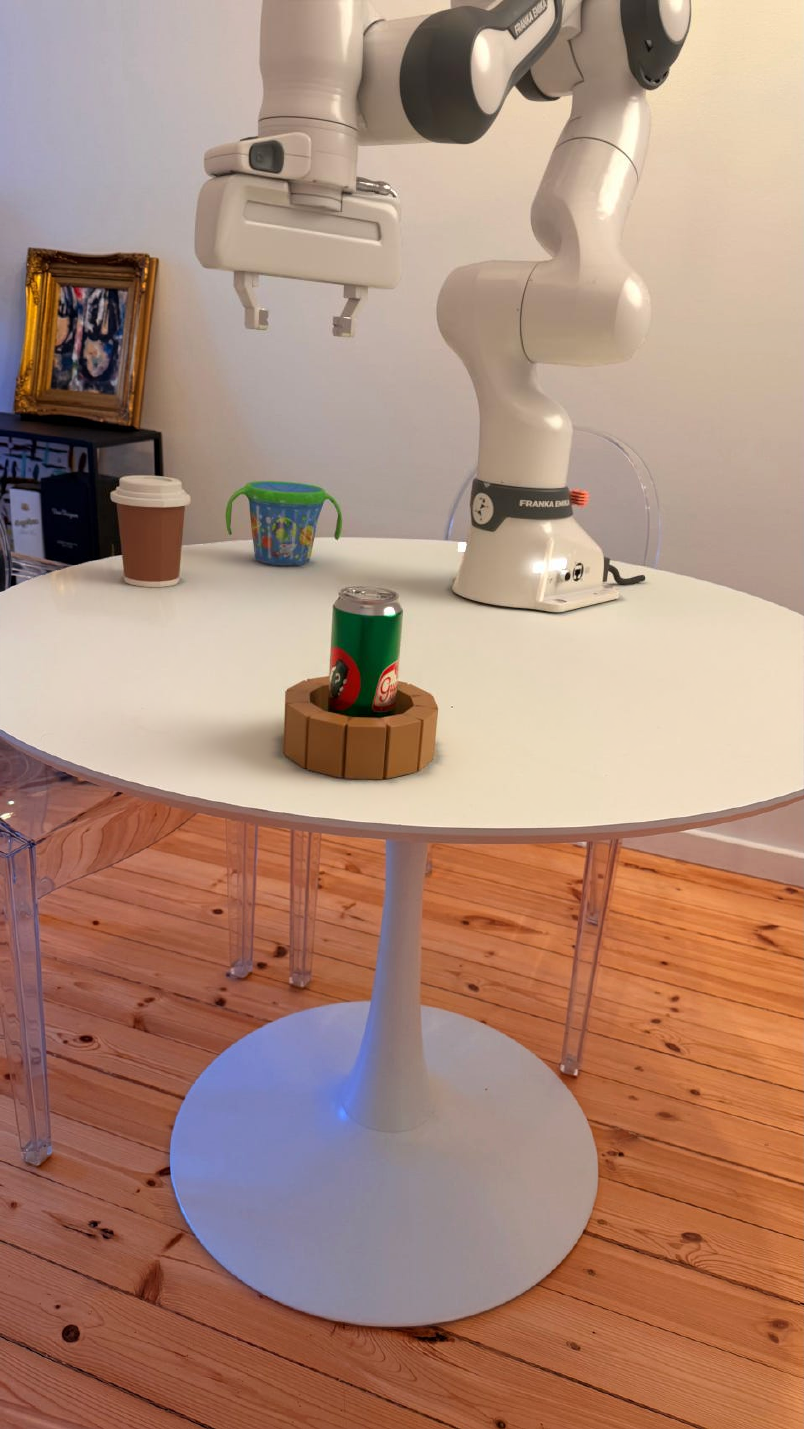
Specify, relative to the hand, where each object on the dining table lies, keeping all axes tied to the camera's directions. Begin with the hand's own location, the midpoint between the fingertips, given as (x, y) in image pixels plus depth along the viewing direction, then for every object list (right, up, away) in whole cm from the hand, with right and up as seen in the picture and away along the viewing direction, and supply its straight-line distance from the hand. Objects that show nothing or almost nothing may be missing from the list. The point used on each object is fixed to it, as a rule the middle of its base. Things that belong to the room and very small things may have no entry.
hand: (301, 333), depth 92 cm
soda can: (+6, -38, -18) cm, 43 cm away
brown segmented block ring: (+6, -38, -18) cm, 42 cm away
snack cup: (-7, -15, +43) cm, 46 cm away
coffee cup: (-21, -20, +27) cm, 39 cm away
